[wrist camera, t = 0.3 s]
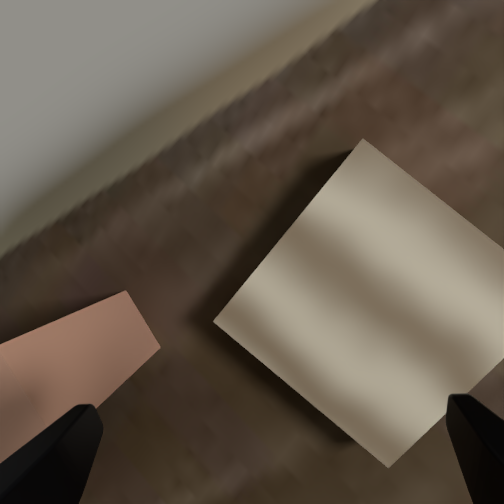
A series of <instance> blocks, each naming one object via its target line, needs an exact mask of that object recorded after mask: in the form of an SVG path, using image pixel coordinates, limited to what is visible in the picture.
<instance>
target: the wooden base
mask: <svg viewBox="0 0 504 504" xmlns="http://www.w3.org/2000/svg"><path fill="white" fill-rule="evenodd" d="M213 322H214V323H215V324H217V325H218V326H219V327H220V328H221V329H222V330H224V331H225V332H226V333H227V334H228V335H230V336H231V337H232V338H233V339H234V340H236V341H237V342H238V343H239V344H240V345H242V346H243V347H244V348H245V349H246V350H248V351H249V352H250V353H251V354H252V355H254V356H255V357H256V358H257V359H258V360H260V361H261V362H262V363H263V364H264V365H266V366H267V367H268V368H269V369H270V370H272V371H273V372H274V373H275V374H276V375H278V376H279V377H280V378H281V379H282V380H284V381H285V382H286V383H287V384H288V385H290V386H291V387H292V388H293V389H294V390H296V391H297V392H298V393H299V394H300V395H301V396H303V397H304V398H305V399H306V400H307V401H309V402H310V403H311V404H312V405H313V406H315V407H316V408H317V409H318V410H319V411H321V412H322V413H323V414H324V415H325V416H327V417H328V418H329V419H330V420H331V421H333V422H334V423H335V424H336V425H337V426H339V427H340V428H341V429H342V430H343V431H345V432H346V433H347V434H348V435H349V436H351V437H352V438H353V439H354V440H355V441H357V442H358V443H359V444H360V445H361V446H363V447H364V448H365V449H366V450H367V451H369V452H370V453H371V454H372V455H373V456H375V457H376V458H377V459H378V460H379V461H381V462H382V463H383V464H384V465H385V466H386V467H388V468H389V467H390V466H391V465H392V464H393V463H394V462H395V461H396V460H397V459H399V458H400V457H401V456H402V455H403V454H404V453H405V452H406V451H407V450H408V449H409V448H410V447H411V446H412V445H413V444H414V443H415V442H416V441H417V440H418V439H419V438H421V437H422V436H423V435H424V434H425V433H426V432H427V431H428V430H429V429H430V428H431V427H432V426H433V425H434V424H435V423H436V422H437V421H438V420H439V419H440V418H441V417H443V416H444V415H445V414H446V410H447V401H448V396H449V395H450V394H452V393H468V392H469V391H470V390H471V389H472V388H473V387H474V386H475V385H476V384H477V383H478V382H479V381H480V380H481V379H482V378H483V377H484V376H485V375H486V374H488V373H489V372H490V371H491V370H492V369H493V368H494V367H495V366H496V365H497V364H498V363H499V362H500V361H501V360H502V359H503V358H504V249H503V248H501V247H500V246H499V245H498V244H496V243H495V242H494V241H493V240H491V239H490V238H489V237H487V236H486V235H485V234H484V233H482V232H481V231H480V230H479V229H477V228H476V227H475V226H473V225H472V224H471V223H470V222H468V221H467V220H466V219H465V218H463V217H462V216H461V215H460V214H458V213H457V212H456V211H454V210H453V209H452V208H451V207H449V206H448V205H447V204H446V203H444V202H443V201H442V200H440V199H439V198H438V197H437V196H435V195H434V194H433V193H432V192H430V191H429V190H428V189H426V188H425V187H424V186H423V185H421V184H420V183H419V182H418V181H416V180H415V179H414V178H412V177H411V176H410V175H409V174H407V173H406V172H405V171H404V170H402V169H401V168H400V167H398V166H397V165H396V164H395V163H393V162H392V161H391V160H390V159H388V158H387V157H386V156H385V155H383V154H382V153H381V152H379V151H378V150H377V149H376V148H374V147H373V146H372V145H371V144H369V143H368V142H367V141H365V140H364V139H362V140H361V141H360V142H359V144H358V145H357V146H356V147H355V149H354V150H353V151H352V152H351V153H350V155H349V156H348V157H347V158H346V160H345V161H344V162H343V163H342V164H341V166H340V167H339V168H338V169H337V171H336V172H335V173H334V174H333V175H332V177H331V178H330V179H329V180H328V182H327V183H326V184H325V185H324V186H323V188H322V189H321V190H320V191H319V193H318V194H317V195H316V196H315V197H314V199H313V200H312V201H311V202H310V204H309V205H308V206H307V207H306V208H305V210H304V211H303V212H302V213H301V215H300V216H299V217H298V218H297V219H296V221H295V222H294V223H293V224H292V226H291V227H290V228H289V229H288V230H287V232H286V233H285V234H284V235H283V237H282V238H281V239H280V240H279V241H278V243H277V244H276V245H275V246H274V248H273V249H272V250H271V251H270V252H269V254H268V255H267V256H266V257H265V259H264V260H263V261H262V262H261V263H260V265H259V266H258V267H257V268H256V270H255V271H254V272H253V273H252V274H251V276H250V277H249V278H248V279H247V281H246V282H245V283H244V284H243V285H242V287H241V288H240V289H239V290H238V292H237V293H236V294H235V295H234V296H233V298H232V299H231V300H230V301H229V303H228V304H227V305H226V306H225V307H224V309H223V310H222V311H221V312H220V314H219V315H218V316H217V317H216V318H215V320H214V321H213Z"/></svg>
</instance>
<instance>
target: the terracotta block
mask: <svg viewBox="0 0 504 504" xmlns="http://www.w3.org/2000/svg"><path fill="white" fill-rule="evenodd" d="M160 348H161V347H160V345H159V344H158V342H157V340H156V339H155V337H154V335H153V334H152V332H151V331H150V329H149V327H148V326H147V324H146V322H145V321H144V319H143V317H142V316H141V314H140V313H139V311H138V309H137V308H136V306H135V304H134V303H133V301H132V299H131V298H130V296H129V295H128V293H127V291H126V290H125V291H123V292H121V293H118V294H116V295H114V296H111V297H109V298H107V299H105V300H102V301H100V302H98V303H95V304H93V305H91V306H88V307H86V308H84V309H81V310H79V311H77V312H74V313H72V314H70V315H67V316H65V317H63V318H60V319H58V320H56V321H54V322H51V323H49V324H47V325H44V326H42V327H40V328H37V329H35V330H33V331H30V332H28V333H26V334H23V335H21V336H19V337H16V338H14V339H12V340H10V341H7V342H5V343H3V344H0V463H1V462H2V461H4V460H5V459H6V458H8V457H9V456H10V455H12V454H13V453H14V452H16V451H17V450H18V449H19V448H21V447H22V446H23V445H25V444H26V443H27V442H29V441H30V440H31V439H32V438H34V437H35V436H36V435H38V434H39V433H40V432H42V431H43V430H44V429H45V428H47V427H48V426H49V425H51V424H52V423H53V422H55V421H56V420H57V419H59V418H60V417H61V416H62V415H64V414H65V413H66V412H68V411H69V410H70V409H72V408H73V407H74V406H76V405H78V404H93V405H94V406H95V408H97V407H98V406H99V405H100V404H101V403H102V402H104V401H105V400H106V399H107V398H108V397H109V396H110V395H111V394H112V393H113V392H114V391H115V390H116V389H117V388H118V387H119V386H120V385H122V384H123V383H124V382H125V381H126V380H127V379H128V378H129V377H130V376H131V375H132V374H133V373H134V372H135V371H136V370H137V369H138V368H140V367H141V366H142V365H143V364H144V363H145V362H146V361H147V360H148V359H149V358H150V357H151V356H152V355H153V354H154V353H155V352H157V351H158V350H159V349H160Z"/></svg>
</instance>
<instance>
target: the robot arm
mask: <svg viewBox="0 0 504 504" xmlns="http://www.w3.org/2000/svg"><path fill="white" fill-rule="evenodd" d="M446 426H447V430H448V433H449V436H450V439H451V442H452V444H453V447H454V450H455V453H456V456H457V459H458V462H459V465H460V468H461V471H462V473H463V476H464V479H465V482H466V485H467V488H468V491H469V493H470V496H471V499H472V502H473V504H504V420H503V419H501V418H500V417H499V416H497V415H496V414H495V413H494V412H492V411H491V410H490V409H488V408H487V407H486V406H485V405H483V404H482V403H481V402H479V401H478V400H477V399H476V398H474V397H473V396H472V395H470V394H468V393H452V394H450V395H449V396H448V401H447V410H446ZM102 434H103V424H102V421H101V419H100V417H99V415H98V412H97V410H96V408H95V406H94V405H93V404H78V405H76V406H74V407H73V408H72V409H70V410H69V411H68V412H66V413H65V414H64V415H62V416H61V417H60V418H59V419H57V420H56V421H55V422H53V423H52V424H51V425H49V426H48V427H47V428H45V429H44V430H43V431H42V432H40V433H39V434H38V435H36V436H35V437H34V438H32V439H31V440H30V441H29V442H27V443H26V444H25V445H23V446H22V447H21V448H19V449H18V450H17V451H16V452H14V453H13V454H12V455H10V456H9V457H8V458H6V459H5V460H4V461H2V462H1V463H0V504H79V501H80V499H81V496H82V494H83V491H84V488H85V486H86V483H87V480H88V477H89V473H90V470H91V467H92V464H93V461H94V458H95V455H96V452H97V449H98V446H99V443H100V440H101V437H102Z"/></svg>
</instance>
